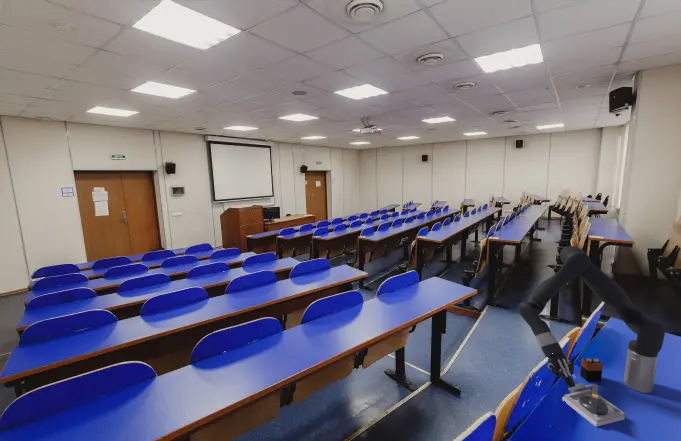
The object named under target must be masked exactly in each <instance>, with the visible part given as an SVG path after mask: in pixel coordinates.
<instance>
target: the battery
mask: <svg viewBox="0 0 681 441" xmlns="http://www.w3.org/2000/svg"><path fill="white" fill-rule="evenodd" d="M603 367H604V363H602V362H601V361H600V360H599V359H598V358H595V357H594V358H588V357H587V358H586V357H585V358H581V364H580V373H579V374H580V375H579V376H580V377H582V379H584V380H585V381H586V382H602V375H603Z"/></svg>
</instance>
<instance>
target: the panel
mask: <svg viewBox="0 0 681 441" xmlns="http://www.w3.org/2000/svg"><path fill="white" fill-rule="evenodd" d="M581 396H592V388H588V389H586V390H583V391H579V392H574V393H571V392H569V393H566V394H564V396H562V398H561V400H562V401H563V402H564V401H565V402H566V404H567V405H568V406H569V407H570V408H572V409H573V410H574V411H576V413H578V415H580V416H581V417H582V418H584V419H585V420H587V421H588V422H589V423H590V424H591V425H593V426H594V427H601V426H604V425H607V424H613V423H616V422H620V421H624V420H625V411H623V410H621V409H620V408H618V407H617V406H615V405H614V404H613V403H611V402H610V401H608V400H607V399H605V398H604V397H602V396H601V395H599V394H598V400H600V401H602V402H603V403H604V404H605V405H606V406H607V407H608V413H607V414H605V415H599V414H596V415H595V414H592V413H590V411H588V410H587V409H585V408H584V407H583V406H581V404H580V403H579V398H580V397H581ZM565 402H564V403H565Z"/></svg>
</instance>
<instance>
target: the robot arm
mask: <svg viewBox="0 0 681 441" xmlns="http://www.w3.org/2000/svg"><path fill="white" fill-rule="evenodd" d="M559 258H560V261H561V262H562V266H561V267H560V269H559V270H558V271H557V272H556V273H554V275H552V276H550V277H548V278H546V279H545V280H544V281H542V282H541V283H540V284H538V286H537V287H536V289H534V291H533V292H532V293H531V296H532V298H531V299H530V300H529V301H521V302H520V303H519V304H518V308H517V309H518V312H519V314H520V315H521V318H522V319H523V320H524V321H525V323H526V324H527V325H528V326H529V327H530V329H531V331H532V333H533V335H534V337H535V339H536V341H537V344H538V346H539V347H540V349H541V351H542V353H543V355H544V357H545V358H547V357H548V358H549V359H548V358H547V362H548V365H546V366H545V367H546V369H547V370H549V371H550V372H551V373H552V374H554V375H555V376H556V377H557V378H562V379H563V380H564V382H565V384H566V386H567V388H568V387H569V388H571V387H575V384H576V382H575V381H574V379H573V378H572V375H574V374H575V371H574V370H575V362H574V360H570V359H568V358H567V357H566V355H565V354H564V350H563V349H562V347H561V345H560V343H559V342H558V339H557V338H556V336H555V335H554V333H553V332H552V330H551V329H550V327H549V325H548V323H547V322H546V321H545V320H543V319H541V318H540V317H539V315H540V314H542V312H543V311H544V309H545V307H546V305H547V304H548V303H549V302H550V301H551V300H552V299H553V297H554V296H555V295H556V294H557V293H558V292H559V291H560V290H561V289H563V287H565V286H566V285H567V284H568V283H569V282H571V281H572V280H574V279H575V278H576V277H577V276H579V277H580V278H581V279H582V280H583V282H584V283H585V284H586V286H587V287H588V288H589V289H590V290H591V291H592V293H594V296H596V297H598V298H599V300H600V301H601V302H603V303H604V304H605V305H606V306H607V307H608V308H610V309H611V310H612V311H613V312H615V313H616V314H617V315H618V316H619V317H620V319H621V320H622V322H624V323H625V325H626V326H627V327H628V329H630V330H631V332H633V333H634V334H636V340H634V339H633V340H630V341H629V342H628V344H627V345H628V346H627V352H626V353H627V354H626V360H625V361H626V362H625V368H624V375H623V383H624V384H625V385H626V386H627V387H629V388H630V389H632V390H634V391H637V392H640V393H644V394H645V393H646V394H650V393H652V392H653V389H654V387H655V386H654V384H655V378H656V375H657V374H656V373H657V369H656V367H657V360H658V354H659V353H660V351H661V350H662V348H663V345H664V341H665V340H664V339H665V334H666V330H665V327H664V326H663V324H661V323H660V322H658V321H657V320H655V319H654V318H652V317H651V316H649V315H647V314H646V313H644V312H642V311H641V310H640V309H639V308H638V307H636V306H635V305H634V304H633V302H631V300H630V297H629V296H628V294H627V293H626V292H625V290H624V289H623V288H622V287H621V286H620V285H619V284H618V283H617V282H616V281H615V280H614V279H612V278H611V277H610V276H609V275H607V274H606V273H605V272H604V271H602V270H601V269H599V268H598V266H596V265H595V264H594V263H593V262H592V261H591V257H590V256H589V255H588V254H587V252H585V251H584V250H582V249H581V248H579V247H577V246H573V245H570V246H569V245H568V246H564V247H563V248H561V251H560V253H559ZM552 353H553V354H552Z"/></svg>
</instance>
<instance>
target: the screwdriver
mask: <svg viewBox="0 0 681 441" xmlns="http://www.w3.org/2000/svg"><path fill="white" fill-rule="evenodd" d="M593 384H594V383H591V384H586V385H585V384H583V383H582V382H578V383H575V387H571V388H569V387H568V386H567V391H568V390H569V391H570V392H569V391H568V392H569V393H574V392H579V391H583V390H587V388H590V387H593Z"/></svg>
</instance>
